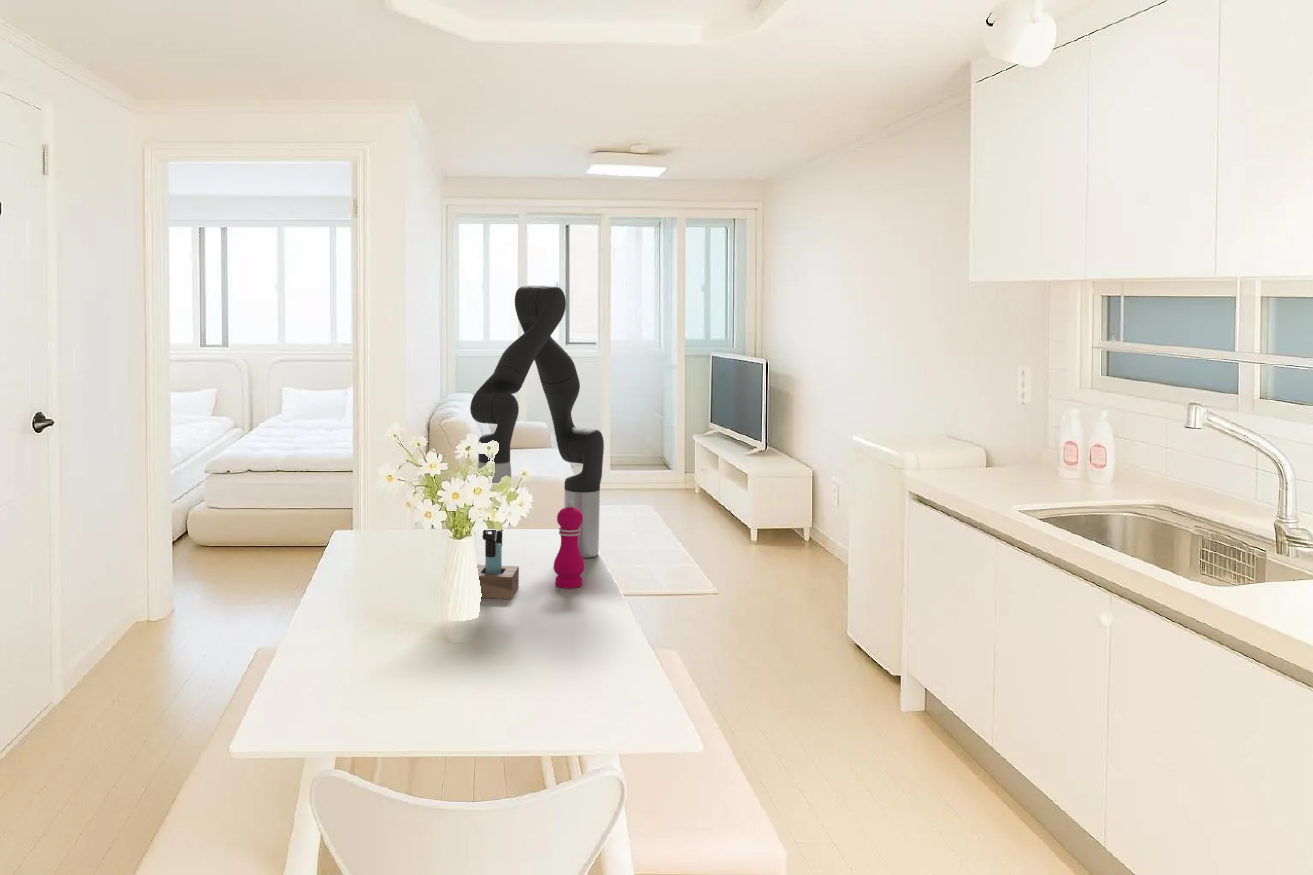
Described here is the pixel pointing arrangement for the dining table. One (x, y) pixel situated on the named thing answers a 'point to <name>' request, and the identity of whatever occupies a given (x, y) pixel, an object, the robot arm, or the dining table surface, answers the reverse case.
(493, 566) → the peg
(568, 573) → the pepper mill
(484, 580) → the socket block
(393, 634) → the dining table surface
